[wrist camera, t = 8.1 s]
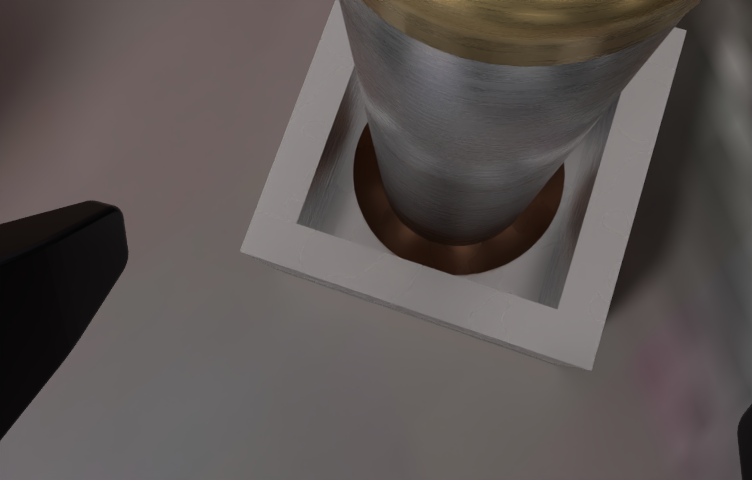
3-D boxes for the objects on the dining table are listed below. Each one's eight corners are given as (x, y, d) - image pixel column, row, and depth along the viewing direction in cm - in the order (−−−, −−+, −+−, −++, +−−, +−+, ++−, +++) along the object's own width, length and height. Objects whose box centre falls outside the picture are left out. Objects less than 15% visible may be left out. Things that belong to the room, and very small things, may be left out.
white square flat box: (555, 363, 15) (591, 371, 12) (274, 268, 16) (239, 251, 13) (635, 89, 16) (686, 30, 13) (367, 15, 17) (356, -56, 14)
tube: (481, 278, 15) (934, -155, 2) (350, 193, 15) (-16, -573, 2) (565, 149, 15) (1423, -962, 2) (434, 72, 16) (502, -1133, 3)
